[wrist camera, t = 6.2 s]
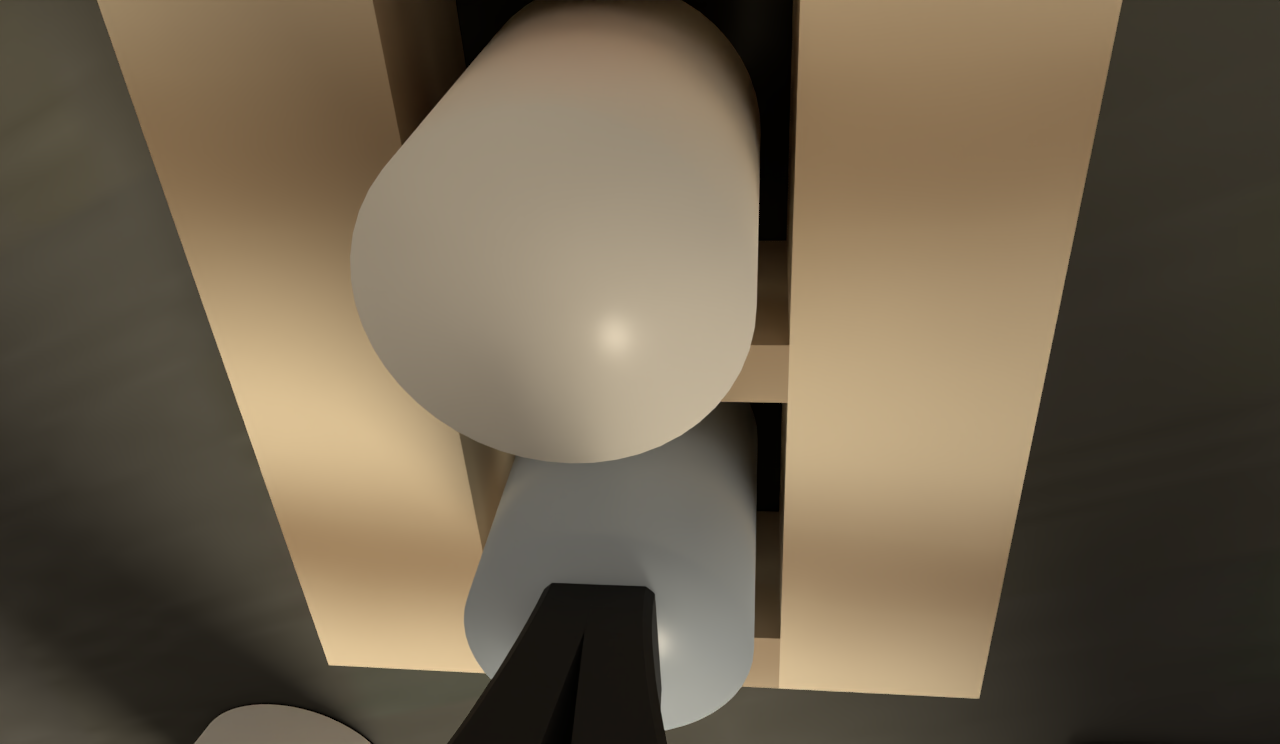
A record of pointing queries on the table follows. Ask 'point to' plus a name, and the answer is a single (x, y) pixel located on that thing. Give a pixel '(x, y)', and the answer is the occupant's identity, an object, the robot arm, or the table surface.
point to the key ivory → (572, 234)
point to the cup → (277, 727)
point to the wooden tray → (784, 326)
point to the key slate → (637, 553)
